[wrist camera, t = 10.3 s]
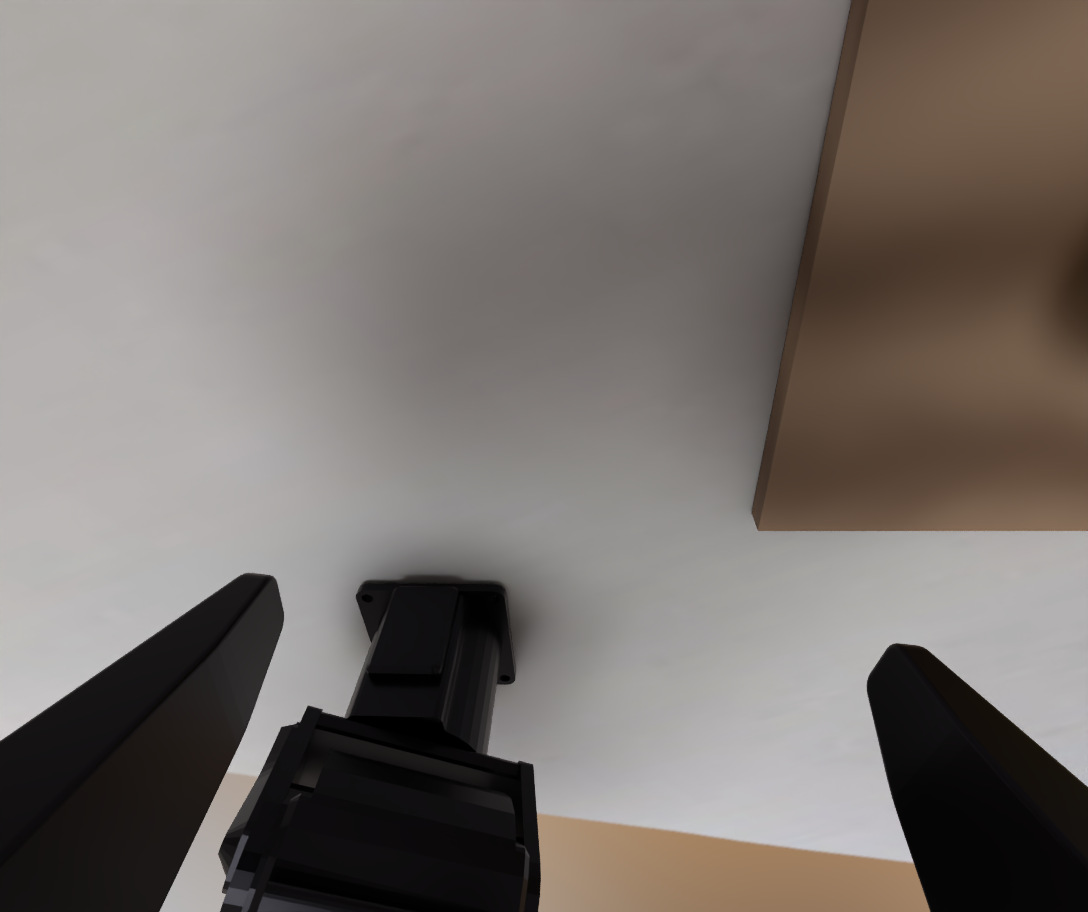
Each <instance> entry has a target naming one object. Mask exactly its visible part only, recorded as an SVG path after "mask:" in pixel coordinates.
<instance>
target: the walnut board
mask: <svg viewBox="0 0 1088 912" xmlns="http://www.w3.org/2000/svg"><path fill="white" fill-rule="evenodd" d="M752 515H753V518H754V521H755V524H756V526H757V529H758V531H1088V0H852V3H851V8H850V13H849V18H848V23H847V28H846V33H845V38H844V44H843V49H842V54H841V59H840V64H839V69H838V74H837V79H836V84H835V90H834V95H833V100H832V105H831V110H830V115H829V120H828V125H827V130H826V136H825V141H824V146H823V151H822V156H821V161H820V166H819V171H818V176H817V182H816V187H815V192H814V197H813V202H812V207H811V212H810V217H809V222H808V228H807V233H806V238H805V243H804V248H803V253H802V258H801V263H800V269H799V274H798V279H797V284H796V289H795V294H794V299H793V304H792V309H791V315H790V320H789V325H788V330H787V335H786V340H785V345H784V350H783V355H782V361H781V366H780V371H779V376H778V381H777V386H776V391H775V396H774V401H773V407H772V412H771V417H770V422H769V427H768V432H767V437H766V442H765V448H764V453H763V458H762V463H761V468H760V473H759V478H758V483H757V488H756V494H755V499H754V504H753V509H752Z"/></svg>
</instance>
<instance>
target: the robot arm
mask: <svg viewBox="0 0 1088 912" xmlns="http://www.w3.org/2000/svg"><path fill="white" fill-rule="evenodd" d="M492 595H494V596H492ZM495 596H496V597H495ZM356 599H357V602H358V605H359V608H360V611H361V614H362V617H363V620H364V623H365V626H366V629H367V632H368V635H369V638H370V641H371V646H370V648H369V651H368V654H367V657H366V659H365V662H364V665H363V668H362V671H361V673H360V676H359V679H358V682H357V684H356V687H355V690H354V693H353V696H352V698H351V701H350V704H349V707H348V709H347V712H346V715H345V718H343V717H339V716H335V715H332V714H328V713H324V712H322V710H323V709H319V708H316V707H312V706H308V707H307V709H306V711H305V713H304V715H303V717H302V720H301V722H297V724H294V725H289V726H285V727H281V729H280V732H279V734H278V736H277V738H276V741H275V743H274V745H273V747H272V749H271V752H270V754H269V756H268V758H267V760H266V763H265V765H264V767H263V769H262V771H261V773H260V775H259V777H258V779H257V780H256V782H255V784H254V786H253V788H252V789H251V791H250V793H249V795H248V796H247V798H246V800H245V802H244V803H243V805H242V807H241V809H240V810H239V812H238V814H237V816H236V817H235V819H234V821H233V823H232V825H231V826H230V828H229V830H228V832H227V834H226V836H225V838H224V840H223V842H222V845H221V847H220V850H219V853H218V855H219V858H220V860H221V863H222V866H223V869H224V872H225V874H226V880H225V883H224V886H223V889H222V893H224V894H226V896H225V899H224V902H223V905H222V908H221V911H220V912H538V906H539V898H540V882H541V873H540V853H539V839H538V825H537V811H536V797H535V784H534V770H533V764H529V763H526V762H522V761H519V762H518V763H515V762H512V761H508V760H504V759H500V758H496V757H492V756H489V755H487V751H488V744H489V736H490V729H491V722H492V715H493V708H494V700H495V693H496V686H497V684H504V685H506V684H511V683H513V682H514V681H515V676H516V667H515V659H514V651H513V643H512V635H511V628H510V620H509V612H508V604H507V596H506V591H505V589H504V588H503V587H501V586H499V585H495V584H371V583H368V584H363V585H361V586H360V587H359V589H358V592H357V594H356ZM283 622H284V611H283V607H282V602H281V598H280V593H279V589H278V584H277V581H276V579H275V578H274V577H273V576H271V575H265V574H256V573H245V574H243V575H240V576H239V577H237V578H236V579H234V580H233V581H231V582H230V583H228V584H227V585H226V586H224V587H223V588H221V589H220V590H218V591H217V592H215V593H214V594H213V595H211V596H210V597H208V598H207V599H205V600H204V601H202V602H201V603H199V604H198V605H197V606H195V607H194V608H192V609H191V610H189V611H188V612H186V613H185V614H184V615H182V616H181V617H179V618H178V619H176V620H175V621H173V622H172V623H170V624H169V625H168V626H166V627H165V628H163V629H162V630H160V631H159V632H157V633H156V634H155V635H153V636H152V637H150V638H149V639H147V640H146V641H144V642H143V643H142V644H140V645H139V646H137V647H136V648H134V649H133V650H131V651H130V652H128V653H127V654H126V655H124V656H123V657H121V658H120V659H118V660H117V661H115V662H114V663H113V664H111V665H110V666H108V667H107V668H105V669H104V670H102V671H101V672H100V673H98V674H97V675H95V676H94V677H92V678H91V679H89V680H88V681H86V682H85V683H84V684H82V685H81V686H79V687H78V688H76V689H75V690H73V691H72V692H71V693H69V694H68V695H66V696H65V697H63V698H62V699H60V700H59V701H58V702H56V703H55V704H53V705H52V706H50V707H49V708H47V709H46V710H44V711H43V712H42V713H40V714H39V715H37V716H36V717H34V718H33V719H31V720H30V721H29V722H27V723H26V724H24V725H23V726H21V727H20V728H18V729H17V730H16V731H14V732H13V733H11V734H10V735H8V736H7V737H5V738H4V739H2V740H1V741H0V912H159V911H160V909H161V907H162V905H163V903H164V901H165V899H166V896H167V894H168V892H169V890H170V888H171V886H172V884H173V882H174V880H175V878H176V876H177V874H178V871H179V869H180V867H181V865H182V863H183V861H184V859H185V857H186V855H187V853H188V850H189V848H190V846H191V844H192V842H193V840H194V838H195V836H196V834H197V832H198V830H199V827H200V825H201V823H202V821H203V819H204V817H205V815H206V813H207V811H208V809H209V807H210V805H211V802H212V801H213V798H214V796H215V794H216V792H217V790H218V788H219V786H220V784H221V782H222V779H223V778H224V775H225V773H226V771H227V769H228V767H229V765H230V763H231V761H232V759H233V757H234V755H235V753H236V750H237V748H238V746H239V744H240V742H241V740H242V737H243V735H244V733H245V731H246V728H247V725H248V723H249V720H250V718H251V715H252V712H253V710H254V707H255V704H256V701H257V698H258V695H259V693H260V690H261V687H262V684H263V681H264V679H265V676H266V673H267V670H268V667H269V664H270V662H271V659H272V656H273V653H274V650H275V648H276V645H277V642H278V639H279V636H280V633H281V631H282V627H283ZM867 694H868V698H869V703H870V707H871V711H872V716H873V720H874V724H875V728H876V733H877V737H878V741H879V745H880V750H881V754H882V758H883V763H884V767H885V771H886V775H887V780H888V784H889V787H890V791H891V795H892V799H893V802H894V805H895V808H896V811H897V814H898V818H899V820H900V823H901V826H902V829H903V832H904V835H905V838H906V841H907V844H908V847H909V850H910V853H911V856H912V859H913V862H914V865H915V868H916V870H917V873H918V876H919V879H920V882H921V885H922V888H923V891H924V894H925V897H926V900H927V903H928V905H929V909H930V912H1088V787H1087V786H1086V785H1085V784H1084V783H1083V782H1081V781H1080V780H1079V779H1078V778H1077V777H1076V776H1074V775H1073V774H1072V773H1071V772H1070V771H1069V770H1067V769H1066V768H1065V767H1064V766H1063V765H1061V764H1060V763H1059V762H1058V761H1057V760H1056V759H1054V758H1053V757H1052V756H1051V755H1050V754H1049V753H1047V752H1046V751H1045V750H1044V749H1043V748H1042V747H1040V746H1039V745H1038V744H1037V743H1036V742H1035V741H1033V740H1032V739H1031V738H1030V737H1029V736H1028V735H1026V734H1025V733H1024V732H1023V731H1022V730H1021V729H1019V728H1018V727H1017V726H1016V725H1015V724H1014V723H1012V722H1011V721H1010V720H1009V719H1008V718H1007V717H1005V716H1004V715H1003V714H1002V713H1001V712H1000V711H998V710H997V709H996V708H995V707H994V706H993V705H991V704H990V703H989V702H988V701H987V700H985V699H984V698H983V697H982V696H981V695H980V694H978V693H977V692H976V691H975V690H974V689H973V688H971V687H970V686H969V685H968V684H967V683H966V682H964V681H963V680H962V679H961V678H960V677H959V676H957V675H956V674H955V673H954V672H953V671H952V670H950V669H949V668H948V667H947V666H946V665H945V664H943V663H942V662H941V661H940V660H939V659H938V658H936V657H935V656H934V655H933V654H932V653H931V652H929V651H928V650H927V649H925V648H923V647H921V646H916V645H908V644H899V643H896V644H892V645H890V646H889V647H888V648H887V649H886V651H885V652H884V654H883V655H882V657H881V658H880V660H879V661H878V663H877V664H876V666H875V667H874V669H873V670H872V672H871V673H870V675H869V677H868V680H867Z"/></svg>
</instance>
